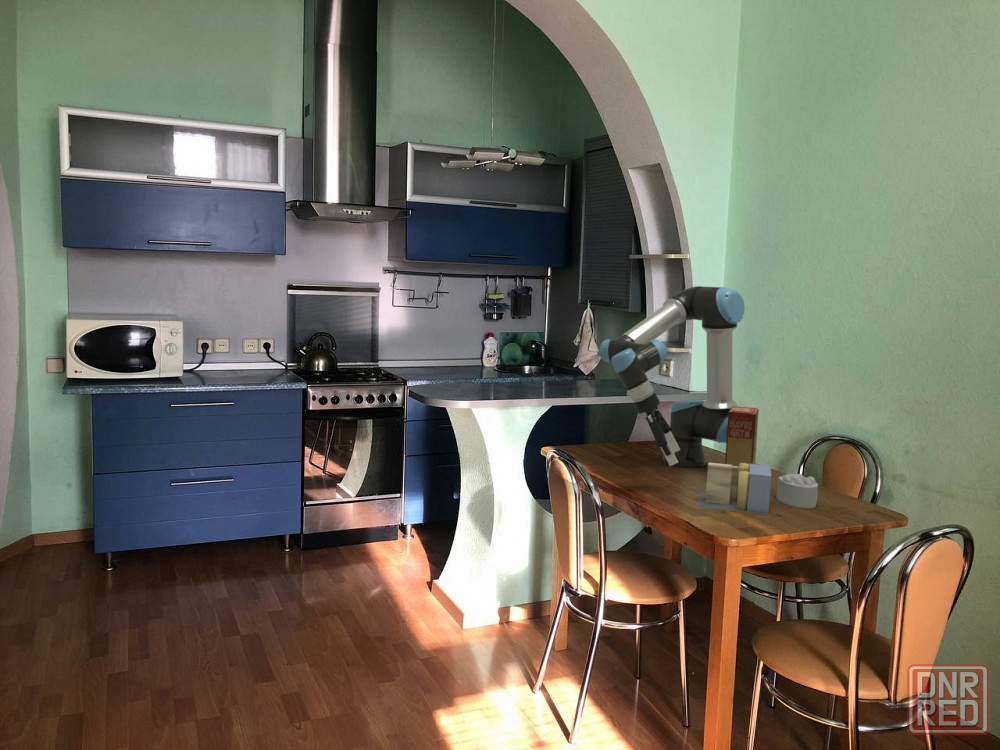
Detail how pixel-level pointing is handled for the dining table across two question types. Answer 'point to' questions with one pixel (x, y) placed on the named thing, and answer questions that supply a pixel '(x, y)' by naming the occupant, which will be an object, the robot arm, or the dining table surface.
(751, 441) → the food packaging
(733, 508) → the mat
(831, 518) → the dining table surface
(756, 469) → the fixed leaf
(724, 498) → the beige block
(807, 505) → the lumpy-topped squat cylinder
